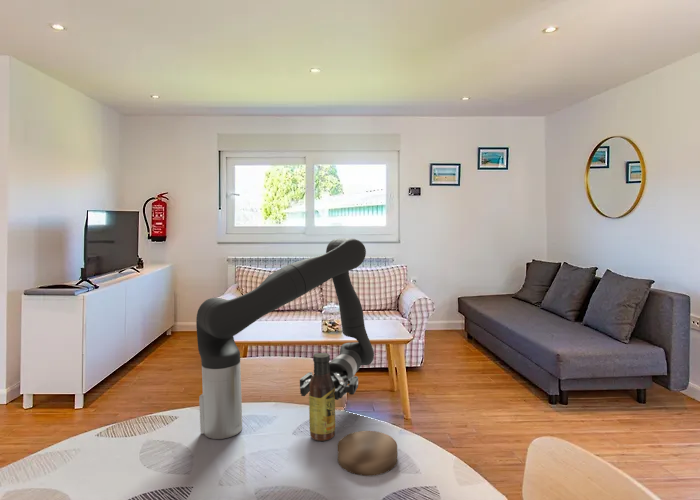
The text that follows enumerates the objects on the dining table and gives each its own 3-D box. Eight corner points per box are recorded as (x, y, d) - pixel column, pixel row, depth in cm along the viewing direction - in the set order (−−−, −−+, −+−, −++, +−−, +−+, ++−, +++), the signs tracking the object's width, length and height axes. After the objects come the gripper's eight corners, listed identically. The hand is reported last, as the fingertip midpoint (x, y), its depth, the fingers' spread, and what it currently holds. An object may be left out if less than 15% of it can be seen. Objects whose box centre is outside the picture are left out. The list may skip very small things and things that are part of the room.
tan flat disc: (329, 470, 90) (329, 456, 89) (347, 440, 102) (347, 427, 102) (391, 480, 86) (390, 465, 86) (402, 447, 98) (402, 434, 98)
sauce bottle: (332, 443, 101) (330, 360, 99) (306, 441, 102) (304, 358, 101) (338, 430, 107) (336, 351, 106) (314, 428, 108) (312, 350, 107)
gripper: (315, 356, 119) (291, 376, 104) (365, 359, 115) (347, 381, 100) (316, 382, 120) (292, 406, 104) (365, 387, 116) (348, 412, 100)
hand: (319, 394), depth 102 cm, fingers open, 8 cm apart
